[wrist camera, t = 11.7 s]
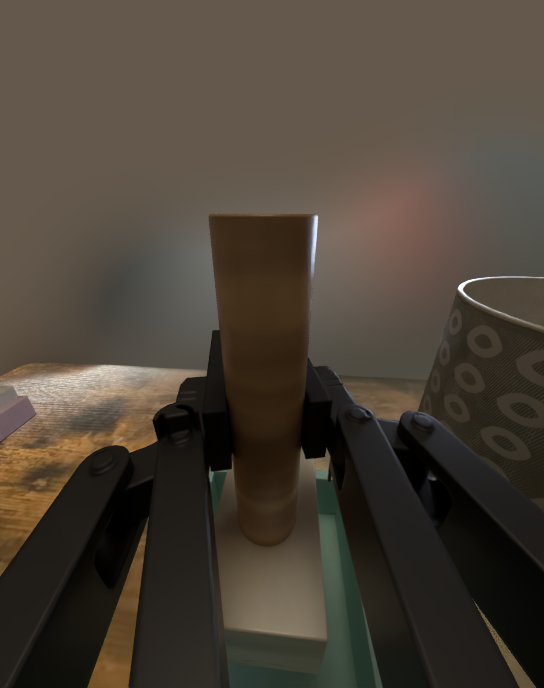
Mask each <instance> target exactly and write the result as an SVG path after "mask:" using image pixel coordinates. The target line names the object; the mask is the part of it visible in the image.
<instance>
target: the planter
mask: <svg viewBox="0 0 544 688" xmlns="http://www.w3.org/2000/svg"><path fill="white" fill-rule="evenodd" d="M418 412H422V413H425V414H427V415H430V416H432V417H433V418H435V419H436V420H438V421H439V422H440V423H441V424H443V425H444V426H445V427H446V428H447V429H448V430H450V431H451V432H452V433H453V434H454V435H455V436H457V437H458V438H459V439H460V440H461V441H462V442H464V443H465V444H466V445H467V446H468V447H469V448H471V449H472V450H473V451H474V452H475V453H476V454H478V455H479V456H480V457H481V458H482V459H483V460H485V461H486V462H487V463H488V464H489V465H490V466H492V467H493V468H494V469H495V470H496V471H497V472H499V473H500V474H501V475H502V476H503V477H504V478H506V479H507V480H508V481H509V482H510V483H511V484H513V485H514V486H515V487H516V488H517V489H518V490H519V491H521V492H522V493H523V494H524V495H525V496H526V497H528V498H529V499H530V500H531V501H532V502H533V503H535V504H536V505H537V506H538V507H539V508H540V509H542V510H543V511H544V278H543V277H490V278H480V279H475V280H470V281H467V282H465V283H462V284H461V285H460V286H459V288H458V289H457V292H456V296H455V299H454V302H453V305H452V308H451V311H450V314H449V317H448V320H447V324H446V326H445V329H444V333H443V335H442V339H441V342H440V345H439V348H438V351H437V354H436V357H435V360H434V363H433V366H432V369H431V372H430V375H429V378H428V382H427V385H426V388H425V391H424V394H423V397H422V400H421V403H420V406H419V409H418ZM429 472H430V473H431V475H432V476H433V477H434V478H436V479H437V477H436V476H435V475H434V474H433V473H432V472H431V471H429Z"/></svg>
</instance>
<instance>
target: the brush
mask: <svg viewBox="0 0 544 688" xmlns="http://www.w3.org/2000/svg"><path fill="white" fill-rule="evenodd" d="M317 225H318V215H316V214H210V215H209V226H210V236H211V247H212V257H213V267H214V277H215V288H216V298H217V308H218V319H219V329H220V339H221V349H222V359H223V370H224V380H225V390H226V398H227V408H228V419H229V429H230V439H231V449H232V469H230V470H227V474H226V478H225V482H224V485H223V489H222V493H221V497H220V500H219V504H218V508H217V512H216V515H215V519H214V526H215V537H216V547H217V558H218V568H219V579H220V590H221V600H222V611H223V621H224V632H225V642H226V653H227V662H229V663H236V664H244V665H251V666H259V667H267V668H274V669H282V670H290V671H297V672H305V673H312V674H319V671H320V668H321V664H322V660H323V656H324V652H325V649H326V645H327V641H328V634H327V620H326V607H325V594H324V581H323V568H322V554H321V541H320V528H319V515H318V502H317V488H316V475H315V462H314V458H313V459H305V455H304V452H303V450H301V442H302V428H303V415H304V401H305V388H306V374H307V360H308V345H309V333H310V319H311V306H312V293H313V279H314V265H315V252H316V239H317Z"/></svg>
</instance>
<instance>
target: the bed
mask: <svg viewBox="0 0 544 688" xmlns="http://www.w3.org/2000/svg"><path fill="white" fill-rule="evenodd" d="M34 415H36V412H35V410H34V408H33V406H32V405H31V403H30V401H29V399H28V397H27V396H18V395H17V393H16V392H15V390H14V388H13V387H11V386H0V442H1V441H2V440H3V439H5V438H6V437H7V436H8V435H10V434H11V433H12V432H14V431H15V430H16V429H18V428H19V427H20V426H21V425H23V424H24V423H25V422H27V421H28V420H29V419H31V418H32V417H33V416H34Z"/></svg>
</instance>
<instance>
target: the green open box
mask: <svg viewBox="0 0 544 688" xmlns="http://www.w3.org/2000/svg"><path fill="white" fill-rule="evenodd" d="M226 474H227V470H223V471H215V472H211V469H210V470H209V478H210V484H211V494H212V505H213V516H214V519H215V515H216V512H217V508H218V504H219V500H220V497H221V493H222V489H223V485H224V482H225V478H226ZM315 475H316V488H317V502H318V515H319V528H320V541H321V554H322V568H323V581H324V594H325V607H326V620H327V634H328V641H327V645H326V649H325V652H324V656H323V660H322V664H321V668H320V671H319V674H312V673H305V672H297V671H290V670H282V669H274V668H267V667H259V666H251V665H244V664H236V663H229V662H227V663H228V674H229V685H230V688H383V687H382V683H381V678H380V674H379V670H378V666H377V662H376V658H375V654H374V649H373V645H372V641H371V637H370V633H369V629H368V625H367V620H366V616H365V612H364V608H363V604H362V600H361V596H360V591H359V587H358V583H357V579H356V575H355V571H354V566H353V562H352V558H351V554H350V550H349V546H348V542H347V537H346V533H345V529H344V525H343V521H342V517H341V513H340V508H339V504H338V500H337V496H336V492H335V488H334V484H333V479H332V476H331V482H328V471H325V470H315ZM128 688H129V685H128Z"/></svg>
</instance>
